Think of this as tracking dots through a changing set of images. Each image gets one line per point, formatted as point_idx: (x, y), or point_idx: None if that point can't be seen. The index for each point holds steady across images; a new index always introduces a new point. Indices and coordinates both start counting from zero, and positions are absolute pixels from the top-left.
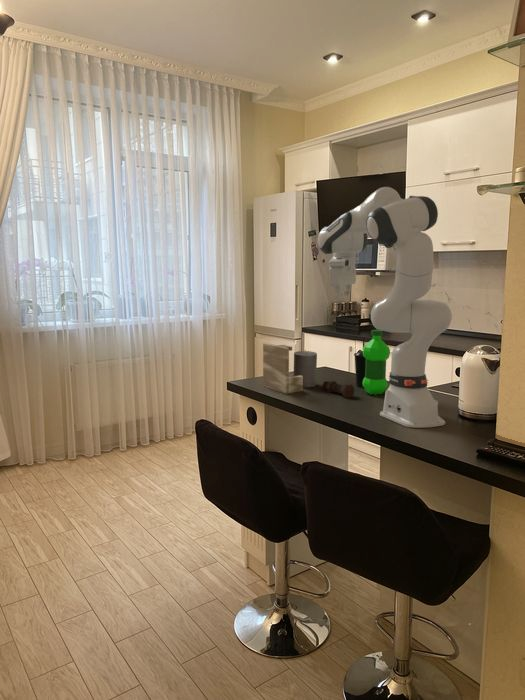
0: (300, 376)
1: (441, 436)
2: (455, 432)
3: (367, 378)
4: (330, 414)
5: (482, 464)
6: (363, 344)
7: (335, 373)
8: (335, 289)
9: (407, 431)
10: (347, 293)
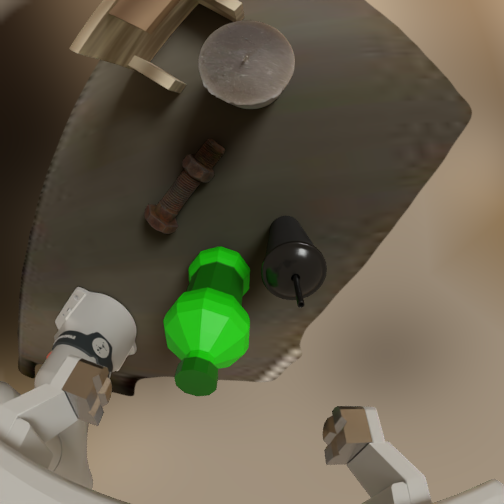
0: (161, 84)
1: None
2: None
3: (197, 269)
4: (45, 211)
5: (24, 361)
6: (295, 291)
7: (419, 144)
8: (10, 404)
9: (46, 318)
10: (332, 438)
